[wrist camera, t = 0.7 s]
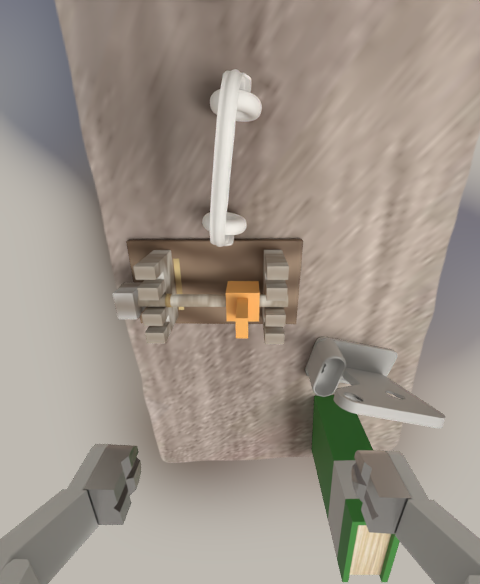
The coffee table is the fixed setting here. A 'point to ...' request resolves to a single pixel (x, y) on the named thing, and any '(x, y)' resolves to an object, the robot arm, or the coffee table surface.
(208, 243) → the cord comb board
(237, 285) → the sleeve
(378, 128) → the coffee table surface
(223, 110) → the headset
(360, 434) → the hardback book
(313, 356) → the phone holder
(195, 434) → the coffee table surface
